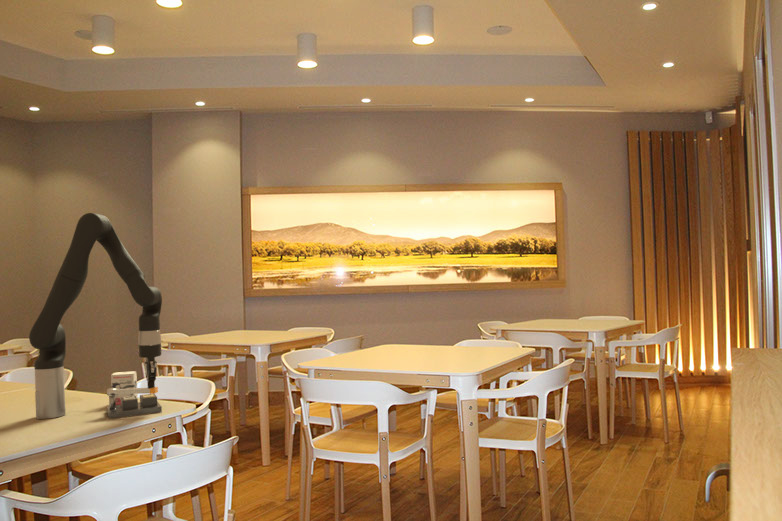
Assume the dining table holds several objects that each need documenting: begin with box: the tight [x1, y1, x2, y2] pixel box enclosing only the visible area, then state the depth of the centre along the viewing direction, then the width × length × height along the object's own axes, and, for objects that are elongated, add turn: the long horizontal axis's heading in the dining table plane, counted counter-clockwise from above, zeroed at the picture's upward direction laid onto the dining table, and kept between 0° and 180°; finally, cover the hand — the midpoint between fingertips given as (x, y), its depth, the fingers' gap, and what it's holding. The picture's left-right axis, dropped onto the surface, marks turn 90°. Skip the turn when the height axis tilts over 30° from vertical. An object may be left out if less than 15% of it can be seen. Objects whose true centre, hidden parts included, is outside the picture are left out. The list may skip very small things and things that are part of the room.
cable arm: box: [106, 386, 159, 397], centre depth 235 cm, size 18×3×2 cm, turn 87°
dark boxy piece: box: [106, 393, 163, 420], centre depth 238 cm, size 17×14×7 cm
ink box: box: [110, 370, 139, 405], centre depth 256 cm, size 8×5×12 cm, turn 98°
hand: (151, 391), depth 237 cm, fingers closed
